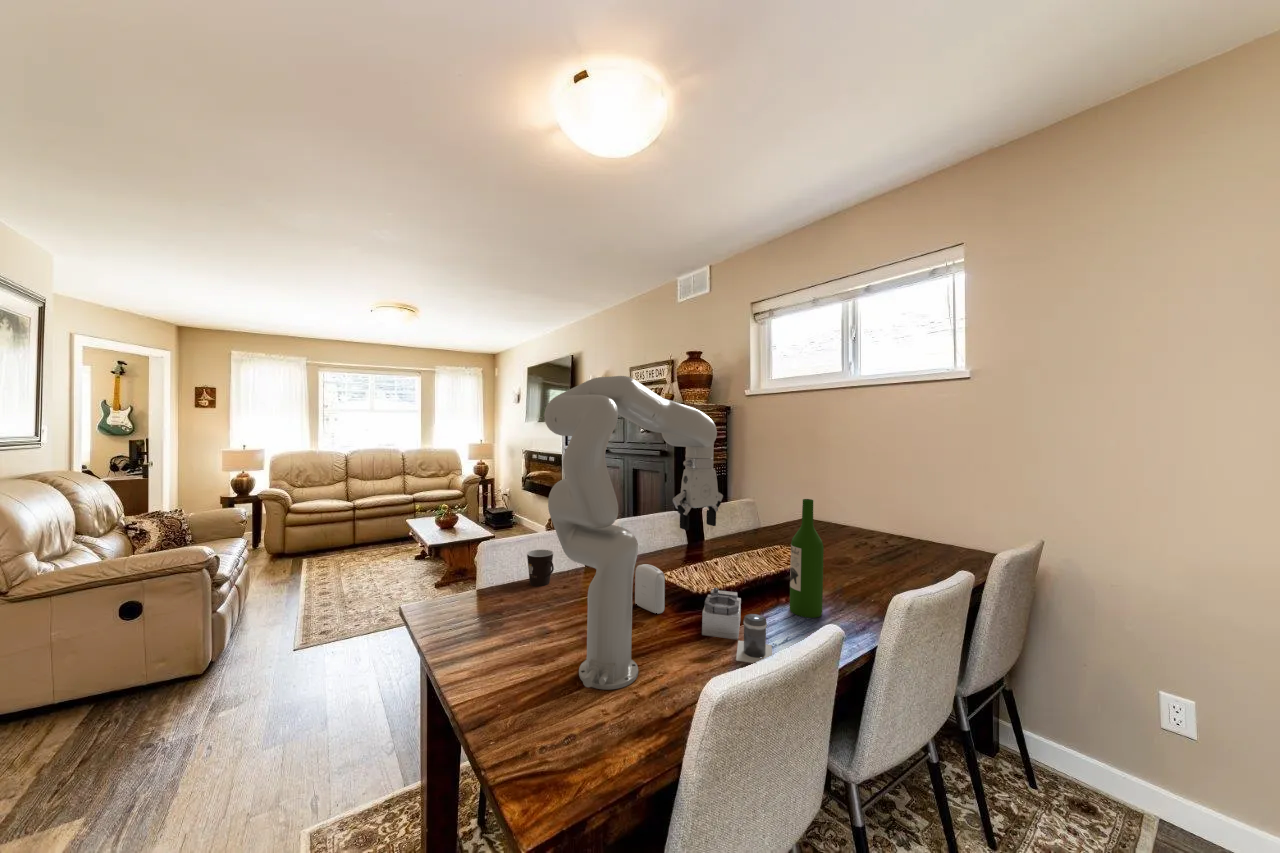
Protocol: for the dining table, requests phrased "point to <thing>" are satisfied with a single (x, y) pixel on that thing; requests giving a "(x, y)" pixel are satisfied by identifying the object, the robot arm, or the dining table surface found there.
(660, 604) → the photo printer
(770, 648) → the mat
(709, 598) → the octagonal socket block
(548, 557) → the coffee mug
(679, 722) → the dining table surface
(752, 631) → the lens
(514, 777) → the dining table surface
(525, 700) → the dining table surface
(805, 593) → the wine bottle
